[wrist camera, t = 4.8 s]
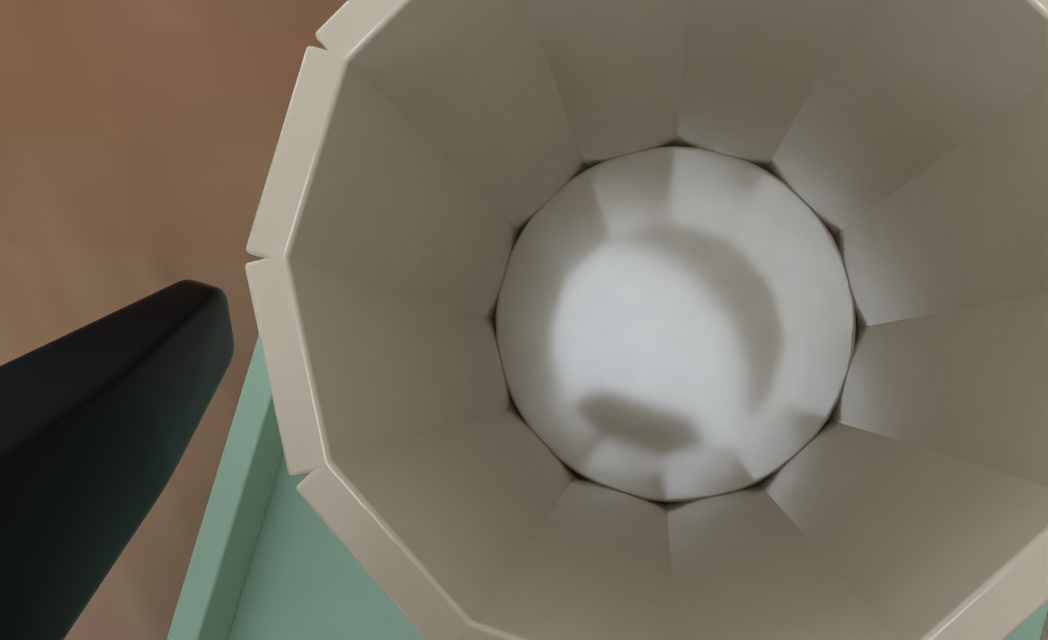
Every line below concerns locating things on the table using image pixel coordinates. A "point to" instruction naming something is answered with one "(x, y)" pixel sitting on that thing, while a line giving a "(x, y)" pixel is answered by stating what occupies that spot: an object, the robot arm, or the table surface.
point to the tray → (290, 551)
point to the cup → (670, 314)
